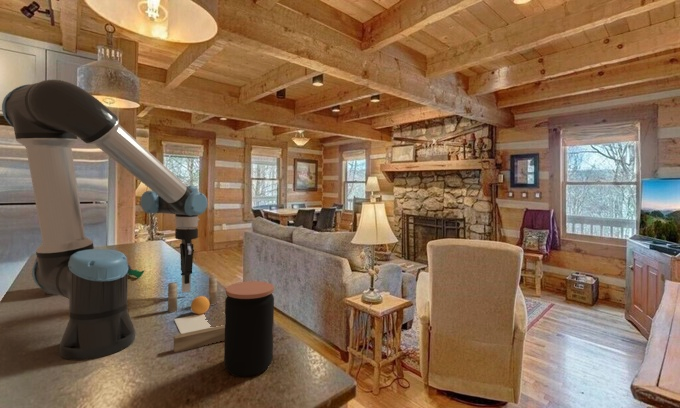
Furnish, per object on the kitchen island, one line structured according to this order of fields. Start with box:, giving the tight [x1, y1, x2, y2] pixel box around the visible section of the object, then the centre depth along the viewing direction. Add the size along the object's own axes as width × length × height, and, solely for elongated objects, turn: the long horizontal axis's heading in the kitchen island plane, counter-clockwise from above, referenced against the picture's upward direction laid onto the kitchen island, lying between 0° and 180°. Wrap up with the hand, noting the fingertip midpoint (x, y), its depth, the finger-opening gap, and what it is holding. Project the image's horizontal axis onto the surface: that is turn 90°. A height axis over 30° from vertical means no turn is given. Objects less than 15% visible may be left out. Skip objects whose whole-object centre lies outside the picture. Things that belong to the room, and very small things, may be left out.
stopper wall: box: [173, 325, 225, 354], centre depth 85 cm, size 2×20×4 cm, turn 125°
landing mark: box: [173, 313, 212, 334], centre depth 97 cm, size 14×14×1 cm
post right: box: [208, 276, 218, 304], centre depth 112 cm, size 3×3×9 cm
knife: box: [128, 264, 145, 279], centre depth 144 cm, size 20×2×5 cm, turn 61°
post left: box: [167, 282, 178, 313], centre depth 105 cm, size 3×3×9 cm
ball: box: [190, 295, 211, 315], centre depth 103 cm, size 6×6×6 cm
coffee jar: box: [223, 280, 275, 378], centre depth 74 cm, size 11×11×18 cm
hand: (186, 291), depth 119 cm, fingers closed
